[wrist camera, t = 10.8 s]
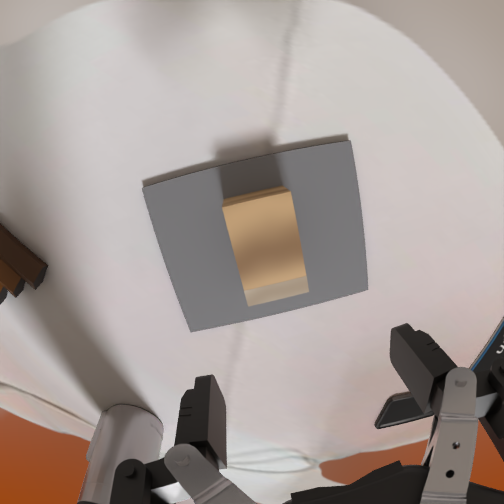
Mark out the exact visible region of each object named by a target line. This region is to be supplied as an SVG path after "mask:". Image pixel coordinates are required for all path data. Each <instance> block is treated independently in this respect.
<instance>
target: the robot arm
mask: <svg viewBox="0 0 504 504" xmlns="http://www.w3.org/2000/svg"><path fill="white" fill-rule="evenodd" d="M390 359H391V363H392V365H393V367H394V368H395V370H396V371H397V373H398V374H399V376H400V377H401V379H402V380H403V382H404V383H405V385H406V386H407V388H408V389H409V391H410V393H411V394H412V396H413V397H414V399H415V400H416V402H417V404H418V405H419V407H420V408H421V410H422V411H423V413H424V414H426V413H428V412H430V411H433V412H434V414H435V415H434V418H433V423H432V428H431V432H430V436H429V440H428V445H427V448H426V452H425V455H424V458H423V460H422V463H421V465H404V466H402V465H401V463H400V461H396V462H394V463H392V464H389V465H386V466H384V467H381V468H379V469H376V470H374V471H372V472H371V473H369V474H367V475H366V476H364V477H362V478H360V479H359V480H357V481H355V482H354V483H352V484H350V485H345V486H332V487H317V488H313V489H309V490H305V491H300V492H295V493H291V498H292V499H291V500H289V501H286V502H285V503H283V504H504V491H500V490H496V489H493V488H489V487H486V486H482V485H479V484H476V483H473V482H470V481H469V480H470V474H471V469H472V464H473V459H474V451H475V445H476V437H477V428H478V419H479V421H480V422H481V424H482V426H483V427H484V429H485V430H486V432H487V434H488V435H489V437H490V439H491V440H492V442H493V443H494V445H495V447H496V449H497V450H498V452H499V454H500V456H501V458H502V459H503V461H504V357H502V358H498V359H496V360H495V361H494V362H493V364H492V366H491V369H489V370H485V371H481V372H476V373H474V372H473V371H472V370H470V369H468V368H465V367H457V365H456V364H455V363H454V362H453V361H452V360H451V359H450V357H449V356H448V355H447V354H446V353H445V352H444V351H443V350H442V349H441V348H440V346H439V345H438V344H437V343H435V341H434V340H433V339H432V338H431V336H430V335H429V334H427V333H425V332H423V331H421V330H418V331H415V330H414V329H413V328H412V327H411V326H410V325H409V324H408V323H405V324H403V325H400V326H397V327H394V328H392V329H391V339H390ZM163 431H164V428H163V425H162V423H161V422H160V421H159V419H158V418H156V417H155V416H154V415H152V414H151V413H149V412H148V411H145V410H143V409H141V408H138V407H135V406H131V405H115V406H113V407H111V408H110V409H109V410H108V411H103V412H102V414H101V416H100V419H99V422H98V424H97V427H96V429H95V432H94V435H93V438H92V440H91V443H90V446H89V449H88V452H87V455H86V459H87V460H88V461H89V462H90V463H89V466H88V469H87V472H86V475H85V478H84V482H83V485H82V488H81V492H80V496H79V499H78V503H77V504H176V503H177V502H181V501H184V500H187V499H191V498H192V499H193V500H194V503H195V504H257V503H255V502H254V501H253V500H252V499H251V498H250V497H248V496H247V495H246V494H245V493H244V492H243V491H241V490H240V489H239V488H238V487H237V486H236V485H235V484H234V483H232V482H231V481H230V480H229V479H226V478H225V477H224V476H223V475H222V474H221V473H220V472H219V469H227V454H226V405H225V400H224V397H223V395H222V393H221V390H220V388H219V386H218V384H217V381H216V379H215V377H214V375H206V376H200V377H196V379H195V386H194V389H190V390H187V391H186V392H185V394H184V395H183V397H182V398H181V403H180V410H179V417H178V423H177V430H176V437H175V444H174V447H172V448H170V449H169V450H168V451H167V453H166V454H165V457H164V458H162V459H159V455H160V449H161V443H162V439H163Z"/></svg>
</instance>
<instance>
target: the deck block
mask: <svg viewBox="0 0 504 504" xmlns="http://www.w3.org/2000/svg"><path fill="white" fill-rule="evenodd" d="M222 209H223V213H224V217H225V221H226V225H227V229H228V233H229V236H230V240H231V244H232V248H233V251H234V255H235V259H236V263H237V267H238V270H239V274H240V278H241V281H242V285H243V289H244V293H245V297H246V300H247V304H248V307H249V306H253V305H257V304H262V303H266V302H270V301H274V300H278V299H283V298H287V297H291V296H295V295H299V294H303V293H307V292H309V288H308V282H307V276H306V270H305V265H304V259H303V253H302V247H301V242H300V236H299V231H298V226H297V220H296V215H295V210H294V205H293V200H292V195H291V191H289V190H288V189H287V188H285V187H284V186H283V185H282V186H278V187H273V188H269V189H264V190H260V191H256V192H251V193H247V194H243V195H239V196H235V197H231V198H226V199H223V205H222Z"/></svg>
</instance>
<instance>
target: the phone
mask: <svg viewBox="0 0 504 504" xmlns="http://www.w3.org/2000/svg"><path fill="white" fill-rule="evenodd" d="M382 411H383V413H382ZM382 411H381V413H382V415H381V413H380V415H379V417H378V418H377V420H376V422H375V427H376V428H377V429H381V428H386V427H391V426H395V425H399V424H403V423H408V422H411V421H415V420H419V419H423V418H426V417H430V416H433V415H435V414H434V412H433V411H430V412H428V413H426V414H424V413H423V411H422V410H421V408H420V407H419V405H418V404H417V402H416V400H415V399H414V397H413V396H412V394H411V393H410V394H405V395H400V396H394V397H392V398H390V399H389V400H387V402H386V403H385V405H384V407H383V409H382Z"/></svg>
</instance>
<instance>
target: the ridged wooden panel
mask: <svg viewBox="0 0 504 504" xmlns="http://www.w3.org/2000/svg"><path fill="white" fill-rule="evenodd" d="M47 268H48V265H47V264H46V263H45V262H43V261H42V260H41V259H40V258H38V257H37V256H36V255H35V254H34V253H33V252H31V251H30V250H29V249H28V248H27V247H26V246H25V245H23V244H22V243H21V242H20V241H19V240H18V239H17V238H16V237H14V236H13V235H12V234H11V233H10V232H9V231H8V230H7V229H6V228H5V227H4V226H3V225H2V224H1V223H0V304H1V303H2V302H3V301H4V300H5V298H6V297H7V292H8V291H9V292H10V293H11V294H12V295H13V296H14V297H16V298H17V296H18V295H19V294H20V293H21V292H22V290H23V288H24V284H25V281H26V282H27V283H28V284H29V285H30V286H32V287H33V288H34V289H35V290H36V289H37V287H38V286H39V285H40V284H41V283H42V282H43V279H44V276H45V273H46V270H47Z"/></svg>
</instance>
